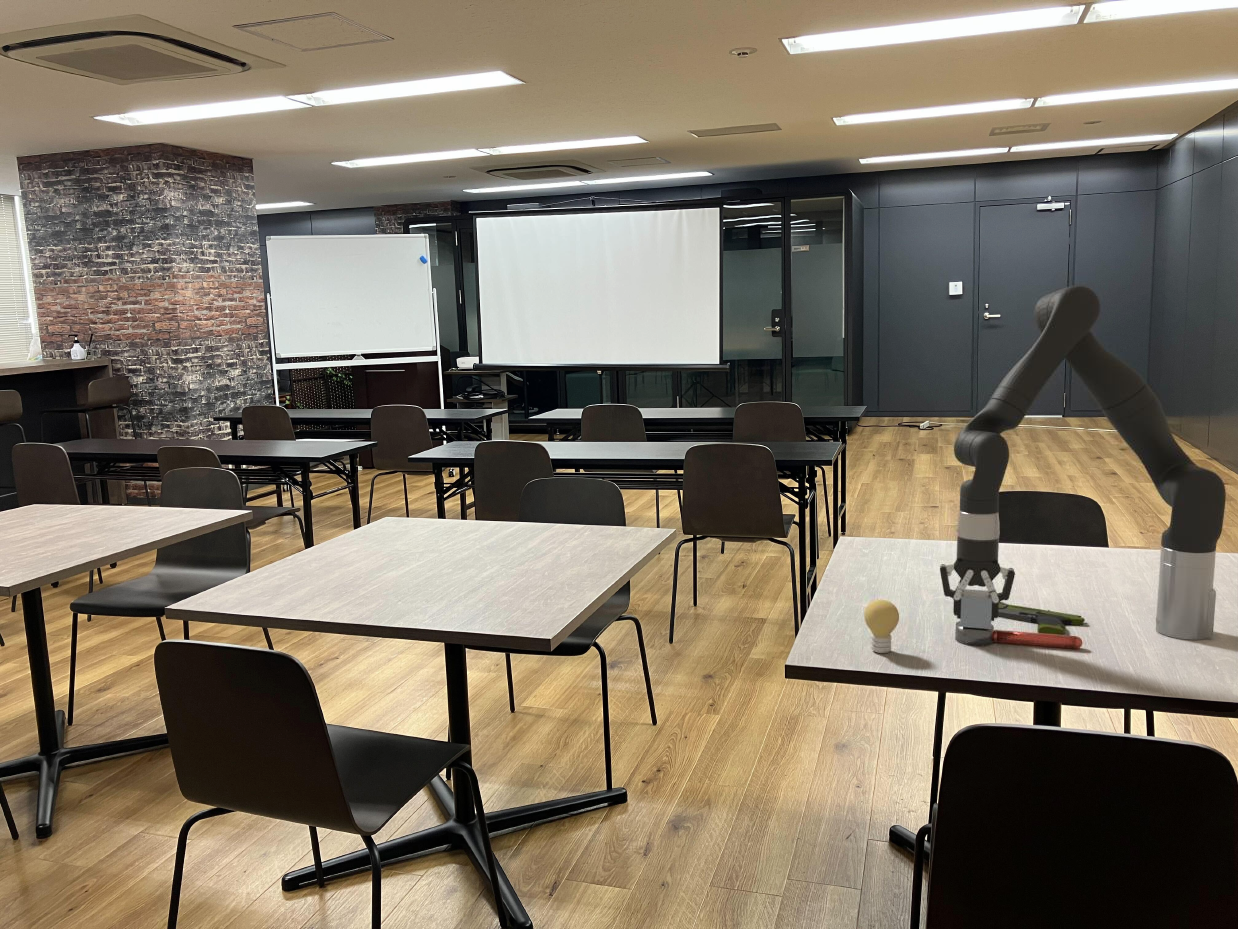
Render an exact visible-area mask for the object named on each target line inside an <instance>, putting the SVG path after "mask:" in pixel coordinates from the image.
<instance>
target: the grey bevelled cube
mask: <svg viewBox="0 0 1238 929" xmlns="http://www.w3.org/2000/svg"><path fill="white" fill-rule="evenodd" d="M991 614H992V596H990V594H989V592H988V590H983V589H981V590H980V589H968V588H966V589H965V590H964V592H963V594H961V618H960V619H959V621H960V627H971V628H984V629H991V624H992V621H991Z"/></svg>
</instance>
